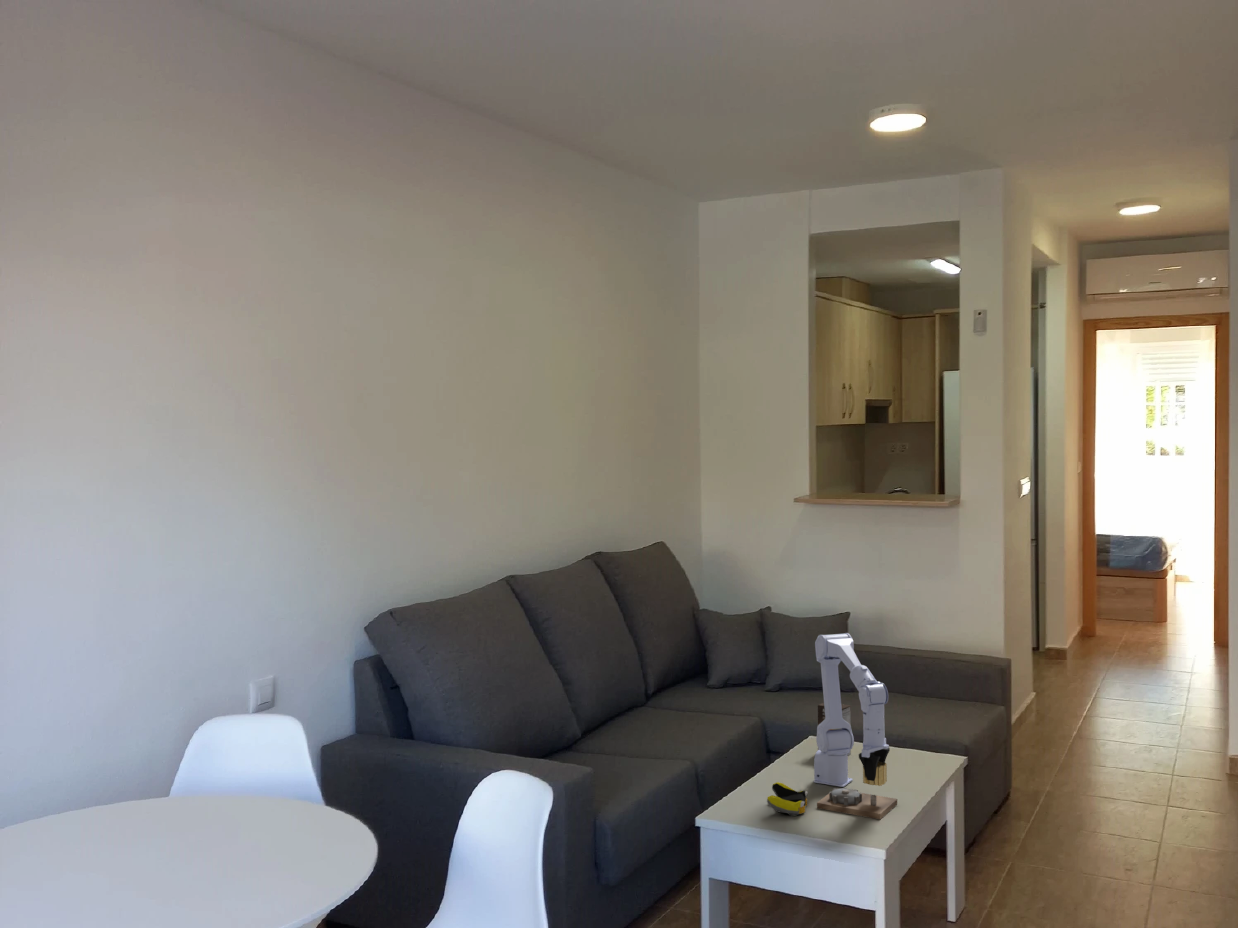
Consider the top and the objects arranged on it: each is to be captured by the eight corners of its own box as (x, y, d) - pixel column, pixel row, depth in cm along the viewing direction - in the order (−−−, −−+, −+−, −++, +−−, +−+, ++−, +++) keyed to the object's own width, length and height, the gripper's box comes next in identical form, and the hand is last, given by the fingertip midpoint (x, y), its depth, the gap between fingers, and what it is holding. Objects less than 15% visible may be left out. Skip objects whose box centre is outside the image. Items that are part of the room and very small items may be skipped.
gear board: (817, 807, 298) (816, 793, 298) (835, 793, 310) (835, 779, 310) (880, 819, 289) (880, 803, 288) (897, 804, 300) (897, 789, 300)
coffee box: (816, 753, 350) (816, 704, 350) (827, 749, 355) (826, 700, 354) (841, 758, 344) (841, 708, 344) (852, 754, 349) (851, 704, 348)
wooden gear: (861, 783, 297) (861, 765, 297) (868, 777, 301) (868, 759, 301) (881, 786, 294) (881, 768, 294) (888, 780, 298) (887, 762, 298)
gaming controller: (766, 817, 292) (803, 819, 289) (766, 796, 292) (803, 799, 289) (773, 799, 307) (808, 801, 304) (772, 780, 306) (808, 782, 304)
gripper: (879, 735, 289) (880, 786, 289) (896, 723, 301) (897, 772, 302) (853, 732, 293) (854, 782, 293) (872, 720, 305) (872, 768, 305)
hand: (874, 776), depth 298 cm, fingers closed on wooden gear, 6 cm apart
